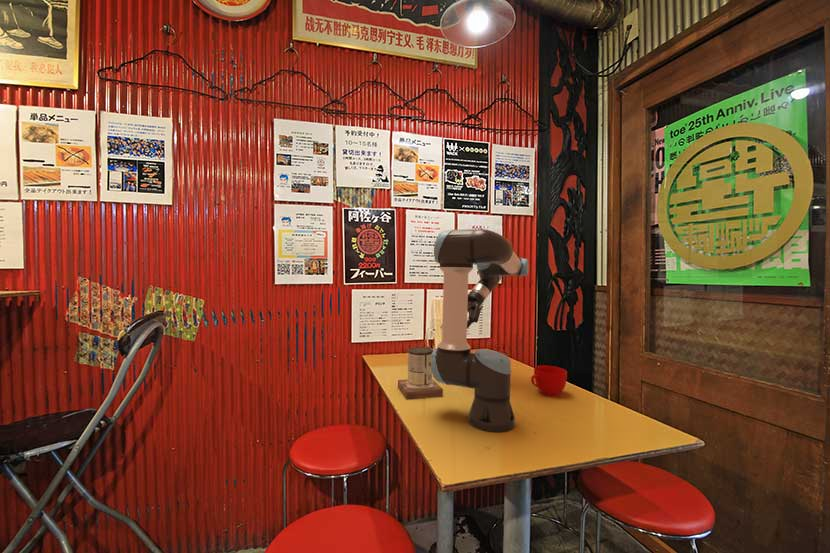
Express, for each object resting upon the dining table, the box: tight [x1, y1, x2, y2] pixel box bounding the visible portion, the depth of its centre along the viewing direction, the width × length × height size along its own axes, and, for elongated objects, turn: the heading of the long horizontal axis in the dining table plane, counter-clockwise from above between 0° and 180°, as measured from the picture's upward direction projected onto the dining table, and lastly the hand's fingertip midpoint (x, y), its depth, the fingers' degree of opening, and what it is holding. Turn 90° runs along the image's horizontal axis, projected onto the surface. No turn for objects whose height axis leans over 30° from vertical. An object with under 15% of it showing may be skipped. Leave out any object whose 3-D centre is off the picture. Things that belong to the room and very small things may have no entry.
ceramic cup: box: [530, 365, 568, 397], centre depth 148 cm, size 13×17×10 cm
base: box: [397, 378, 444, 400], centre depth 147 cm, size 15×15×3 cm
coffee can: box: [407, 346, 434, 387], centre depth 147 cm, size 10×10×14 cm
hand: (450, 330), depth 155 cm, fingers open, 13 cm apart
